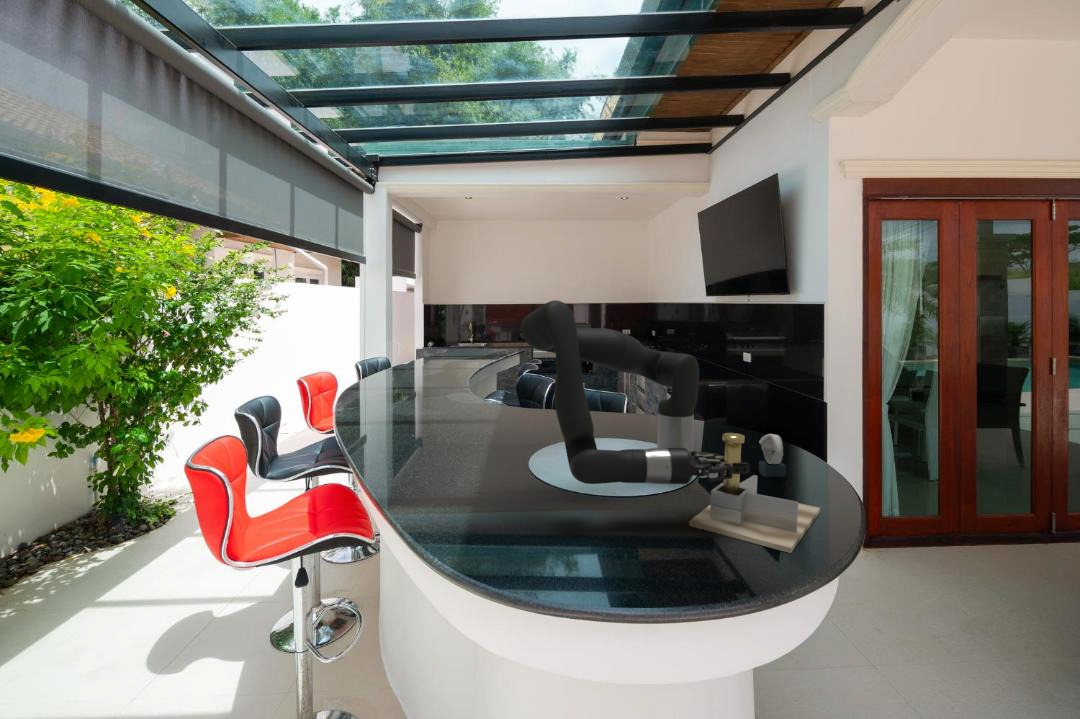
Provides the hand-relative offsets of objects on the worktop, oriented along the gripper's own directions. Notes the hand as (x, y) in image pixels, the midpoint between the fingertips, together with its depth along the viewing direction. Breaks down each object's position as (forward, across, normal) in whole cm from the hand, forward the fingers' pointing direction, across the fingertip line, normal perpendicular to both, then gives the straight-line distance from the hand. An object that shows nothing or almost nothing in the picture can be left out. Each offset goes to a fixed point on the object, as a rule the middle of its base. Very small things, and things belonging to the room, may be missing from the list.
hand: (745, 465), depth 114 cm
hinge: (+4, +1, +11) cm, 12 cm away
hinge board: (+4, +1, +12) cm, 13 cm away
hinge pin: (-3, 0, +10) cm, 10 cm away
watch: (+20, +30, +12) cm, 39 cm away
